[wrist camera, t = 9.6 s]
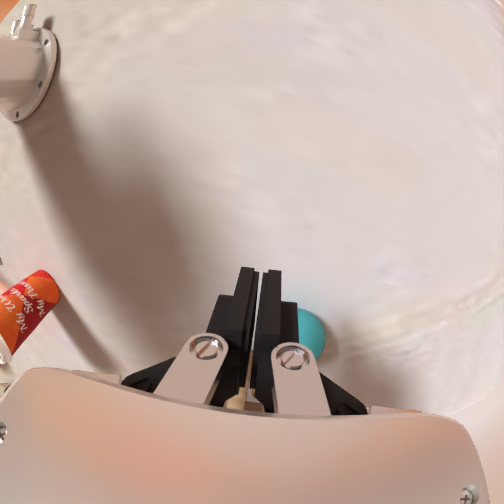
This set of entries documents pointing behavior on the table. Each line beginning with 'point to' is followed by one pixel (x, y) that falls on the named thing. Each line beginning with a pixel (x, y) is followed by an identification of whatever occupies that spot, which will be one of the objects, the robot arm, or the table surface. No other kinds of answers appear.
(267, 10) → the table surface
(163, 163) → the table surface
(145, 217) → the table surface
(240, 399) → the pin
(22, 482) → the robot arm
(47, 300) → the paper cup
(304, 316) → the ball
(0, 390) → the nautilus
